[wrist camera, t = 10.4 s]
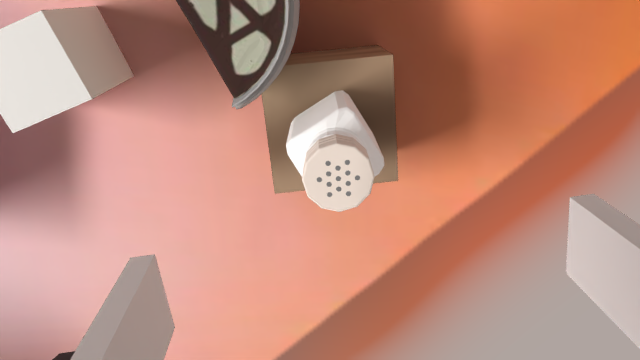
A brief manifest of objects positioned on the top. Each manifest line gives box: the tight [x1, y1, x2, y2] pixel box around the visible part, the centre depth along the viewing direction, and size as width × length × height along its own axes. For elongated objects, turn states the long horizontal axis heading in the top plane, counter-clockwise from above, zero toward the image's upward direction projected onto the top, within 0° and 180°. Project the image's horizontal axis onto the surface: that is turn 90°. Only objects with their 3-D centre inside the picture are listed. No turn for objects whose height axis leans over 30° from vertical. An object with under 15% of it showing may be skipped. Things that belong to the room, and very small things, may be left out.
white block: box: [0, 6, 134, 133], centre depth 31 cm, size 5×5×8 cm
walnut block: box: [262, 45, 398, 193], centre depth 34 cm, size 8×8×6 cm
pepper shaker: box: [286, 90, 384, 212], centre depth 27 cm, size 4×4×10 cm
